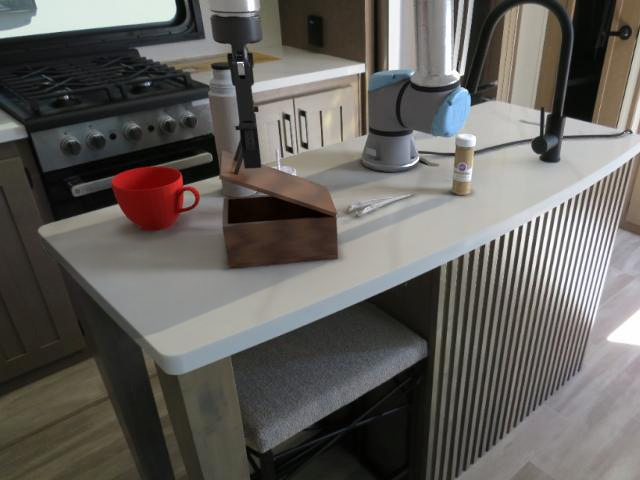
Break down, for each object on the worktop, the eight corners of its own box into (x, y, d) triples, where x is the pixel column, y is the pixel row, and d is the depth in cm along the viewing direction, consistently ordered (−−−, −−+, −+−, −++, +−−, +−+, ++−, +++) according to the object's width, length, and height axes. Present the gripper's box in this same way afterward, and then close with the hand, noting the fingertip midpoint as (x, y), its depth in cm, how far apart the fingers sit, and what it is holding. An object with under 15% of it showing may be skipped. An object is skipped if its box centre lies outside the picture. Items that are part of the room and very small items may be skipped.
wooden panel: (219, 179, 92) (233, 135, 89) (220, 154, 103) (233, 113, 99) (335, 217, 101) (352, 178, 98) (326, 190, 111) (340, 154, 108)
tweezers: (359, 218, 121) (359, 209, 120) (345, 211, 124) (345, 203, 123) (417, 203, 131) (418, 195, 130) (404, 197, 134) (404, 189, 133)
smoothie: (288, 205, 125) (282, 143, 118) (305, 214, 122) (300, 151, 114) (263, 213, 122) (256, 149, 114) (280, 223, 118) (274, 157, 110)
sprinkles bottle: (452, 195, 133) (457, 138, 125) (450, 188, 136) (454, 132, 129) (471, 195, 133) (477, 139, 125) (469, 188, 137) (474, 133, 129)
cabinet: (229, 268, 101) (222, 226, 97) (229, 237, 112) (223, 197, 107) (338, 258, 106) (336, 217, 101) (328, 229, 116) (327, 190, 111)
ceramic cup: (189, 243, 109) (179, 195, 104) (109, 234, 111) (96, 186, 106) (218, 216, 120) (211, 171, 114) (145, 208, 122) (135, 163, 117)
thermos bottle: (263, 186, 134) (249, 61, 119) (249, 198, 128) (232, 68, 113) (232, 183, 136) (214, 58, 120) (217, 195, 129) (196, 65, 114)
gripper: (211, 5, 93) (230, 141, 106) (206, 22, 77) (229, 181, 89) (258, 6, 95) (271, 139, 107) (262, 22, 78) (277, 179, 91)
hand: (252, 158), depth 98 cm, fingers closed on wooden panel, 8 cm apart
